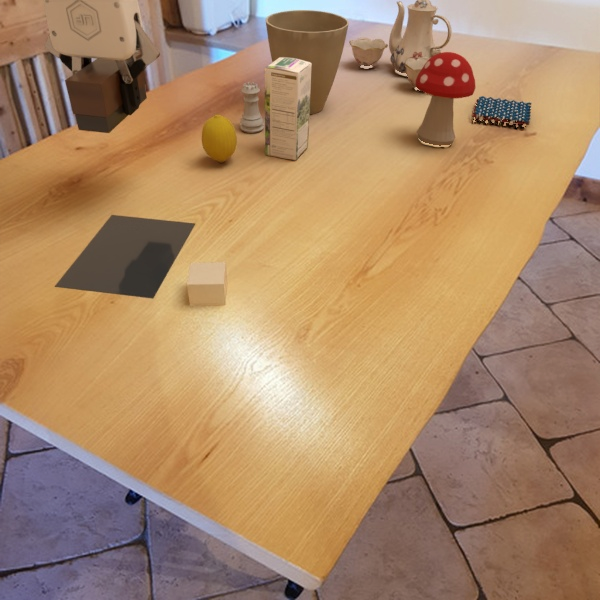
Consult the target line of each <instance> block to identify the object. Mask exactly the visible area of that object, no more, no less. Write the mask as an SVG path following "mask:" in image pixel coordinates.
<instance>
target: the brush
mask: <svg viewBox="0 0 600 600" xmlns="http://www.w3.org/2000/svg"><path fill="white" fill-rule="evenodd" d="M134 55H135V58H136V60H137V59H139V58H140V57H141V56H142V55H143V53H142V52H137V51H135V53H134ZM137 80H138V86H139V92H140V98H141V103H140V105H141V104H142V103H143V102H144V101H146V100H147V90H146V84H147V81H146V80H147V79H146V73H145V69H144V70H143V72H142V73H141V74H140V76H139V77H138V78H137ZM64 82H65V86H66V91H67V95H68V99H69V103H70V107H71V111H72V114H73V115H74V117H75V121H76V124H77V129H78V131H84V132H93V133H104V134H110V133H112V131H113V130H114V129H116V128H117V126H119V125H120V124H121V123H122V122H123V121H124V120H125V119H126V118H127V117H128V116H129V115H126V114H125V113H124V108H123V100H122V95H121V89H120V84H121V83H122V82H123V79H122V76H121V74H120V71H119V69H118V66H117V63H116V61H115V60H108V59H96V58H95V59H94V60H92V62H91V63H90V64H89V65H87V66H86V67H84V68H83V69H81V70H80V71H78V72H77V73H75V74H74V75H73V74H72V75H71V76H69V77H68V78H66V79H65V80H64Z"/></svg>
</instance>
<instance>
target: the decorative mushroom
mask: <svg viewBox="0 0 600 600" xmlns="http://www.w3.org/2000/svg"><path fill="white" fill-rule="evenodd" d="M415 85H416V86H415V87H417V88H418V89H419V90H420V91H423V92H422V93H424V94H427V95H429V96H431V98H430V100H429V104H428V106H427V108H426V111H425V114H424V117H423V120H422V121H421V122H422V123H421V124H420V125H419V127H418V129H417V130H416V136H417V139H418V138H419V139H420V140H421V141H423V142H425V143H429V144H433V145H439V146H441V145H450V144H451V145H452V144H453V143H454V141H455V139H456V134H455V130H454V99H463V98H469V97H471V96H473V95H474V94H475V91H476V79H475V75H474V71H473V68H472V66H471V64H470V62H469V61H468V60H467V59H466V57H464V56H462V55H461V54H459V53H456V52H451V51H444V52H441V53H439V54H436V55H434V56H433V57H431V58H430V59H429V60H428V61H427V62H426V63H425V65H424V67H423V68H422V70H421V71H420V73H419V74H418V76H417V79H416V84H415Z"/></svg>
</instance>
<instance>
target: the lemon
mask: <svg viewBox="0 0 600 600" xmlns="http://www.w3.org/2000/svg"><path fill="white" fill-rule="evenodd" d="M237 139H238V137H237V132H236V129H235V126H234V125H233V123H232V122H231V120H229V119H228V118H227V117H225V116H222V115H220V114H218V113H217V114H214V115H213V116H211V117H209V118H208V119H207V120H206V121H205V123H204V124H203V126H202V129H201V144H202V148H203V150H204V152H205V153H206V155H207V156H208V157H209V158H210V159H212V160H214V161H217V162H218V163H221V164H222V163H224V162H225V161H226V160H228V159H231V157H232V156H233V155H234V154H235V152H236V150H237V145H238V144H237V143H238V140H237Z"/></svg>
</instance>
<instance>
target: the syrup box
mask: <svg viewBox="0 0 600 600" xmlns="http://www.w3.org/2000/svg"><path fill="white" fill-rule="evenodd" d="M271 62H272V61H271ZM311 67H312V63H310V62H307V61H304V60H300V59H295V58H286V57H279V58H278V59H277V60H275V61H274V62H272V63H270V64H268V65H267V66H265V67H264V154H265V155H266V156H269V157H275V158H281V159H284V160H285V159H286V160H292V161H297V160H298V159H299V158H300V156H301V155H303V154H304V152H305V151H306V150H307V149H308V147H309V132H310V114H309V113H310V90H311Z"/></svg>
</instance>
